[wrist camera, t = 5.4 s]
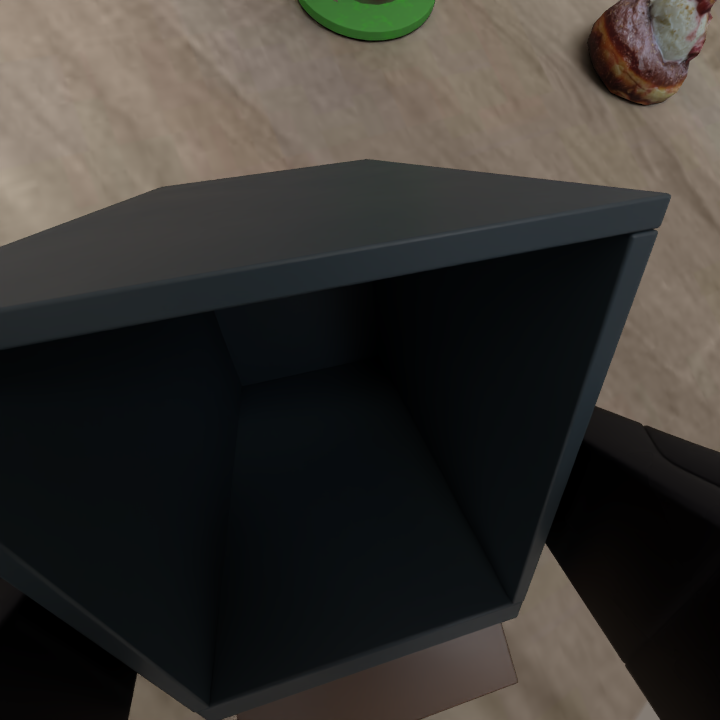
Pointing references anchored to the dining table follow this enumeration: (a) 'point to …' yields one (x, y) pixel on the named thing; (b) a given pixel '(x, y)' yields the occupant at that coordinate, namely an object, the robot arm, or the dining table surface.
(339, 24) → the toy burger
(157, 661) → the bin
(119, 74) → the dining table surface
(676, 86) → the pastry
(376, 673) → the metal block
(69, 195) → the dining table surface
